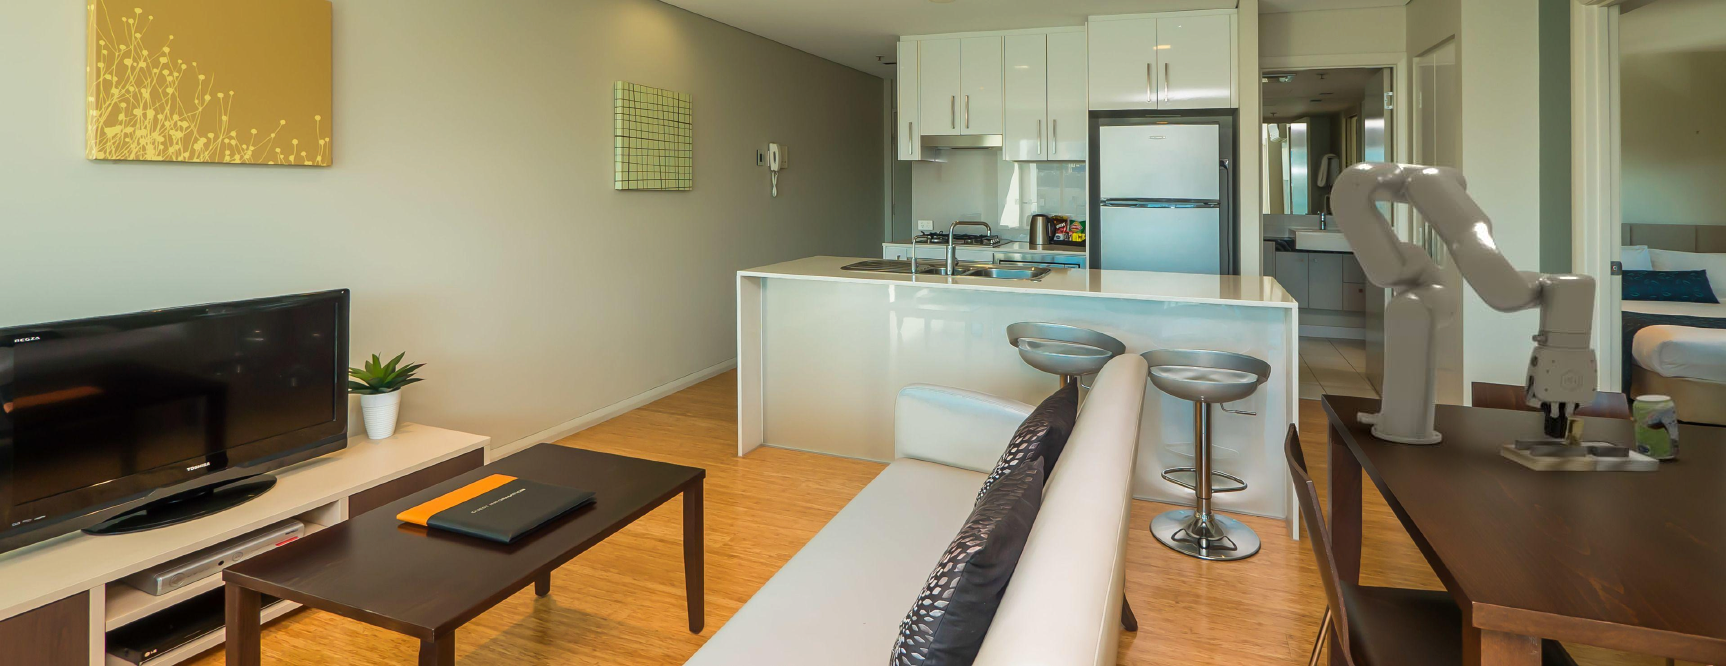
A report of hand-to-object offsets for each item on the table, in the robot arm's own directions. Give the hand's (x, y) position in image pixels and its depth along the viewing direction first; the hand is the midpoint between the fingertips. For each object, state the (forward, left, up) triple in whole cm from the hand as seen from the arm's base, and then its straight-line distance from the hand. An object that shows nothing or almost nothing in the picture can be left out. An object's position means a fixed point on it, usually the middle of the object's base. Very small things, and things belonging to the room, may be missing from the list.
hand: (1554, 436), depth 161 cm
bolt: (+5, +3, -3) cm, 7 cm away
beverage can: (+15, +15, -5) cm, 22 cm away
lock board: (+4, +3, -5) cm, 7 cm away
